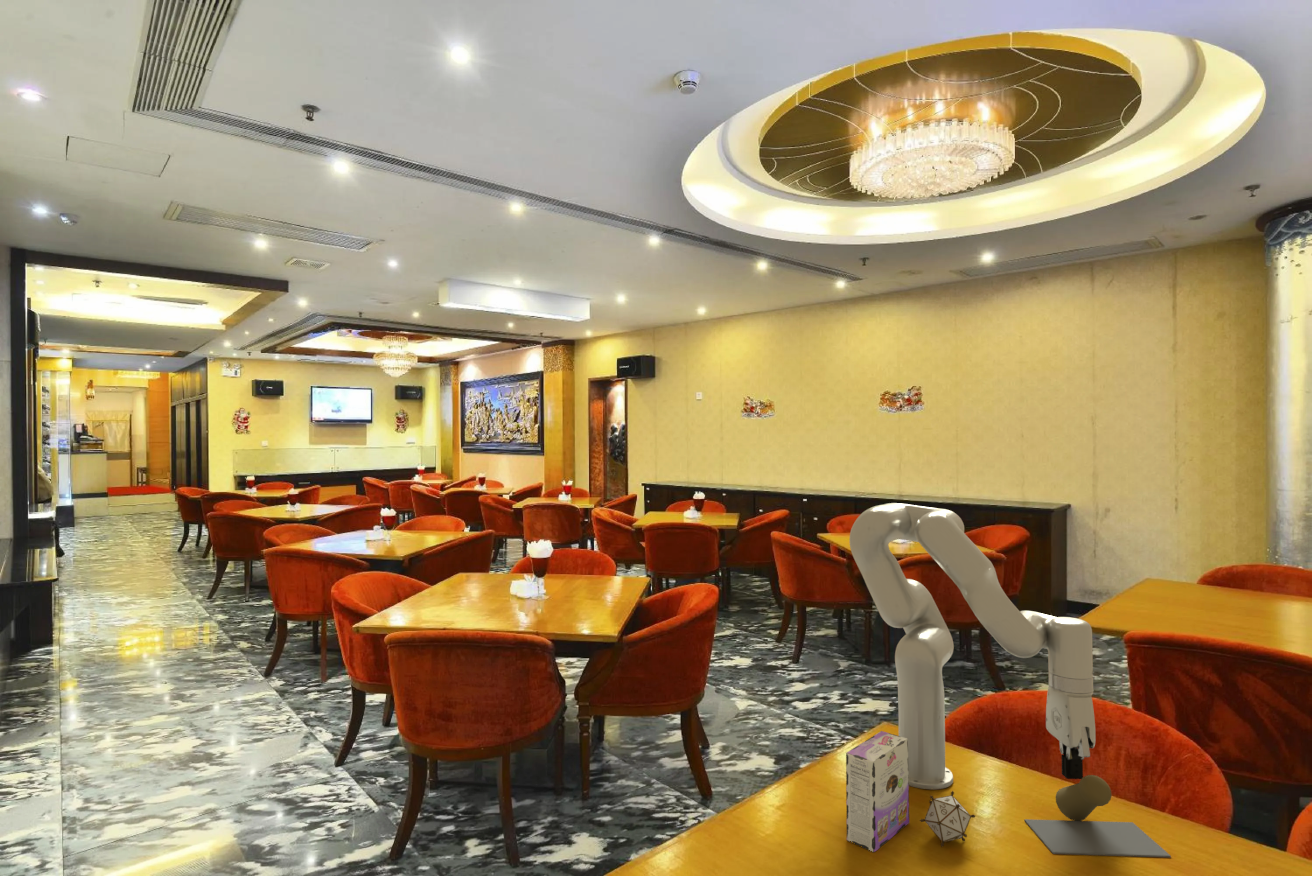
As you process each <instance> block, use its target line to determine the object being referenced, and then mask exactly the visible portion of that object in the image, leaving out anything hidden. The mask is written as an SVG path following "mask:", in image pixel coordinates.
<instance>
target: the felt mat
mask: <svg viewBox="0 0 1312 876" xmlns="http://www.w3.org/2000/svg"><path fill="white" fill-rule="evenodd" d="M1024 822H1025V824H1026V825H1027V826H1028V827H1029V828H1030V830H1031V831H1032V832H1033V833H1034V834H1035V835H1036V836H1037V837H1038V838H1039V840H1040V841H1041V842H1042V843H1043V844H1044V845H1045V846H1046V848H1047V849H1048V850H1049V851H1050V852H1051V853H1052V854H1053V855H1078V856H1080V855H1081V856H1083V855H1084V856H1107V857H1108V856H1110V857H1111V856H1112V857H1113V856H1114V857H1115V856H1116V857H1142V858H1144V857H1145V858H1148V857H1149V858H1172V856H1171V855H1170V854H1169V853H1168V852H1167V851H1166V850H1165V849H1164V848H1163V847H1161V845H1159V844H1158V843H1157V842H1155V840H1153V839H1152V838H1151V836H1149V834H1148V835H1147V834H1146V833H1145V832H1144V831H1143V830H1142V829H1141V828H1140V827H1139V826H1137V825H1136V823H1134V822H1133V821H1132V822H1130V821H1096V820H1089V821H1088V820H1082V821H1074V820H1059V819H1027V818H1026V819H1024Z"/></svg>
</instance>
